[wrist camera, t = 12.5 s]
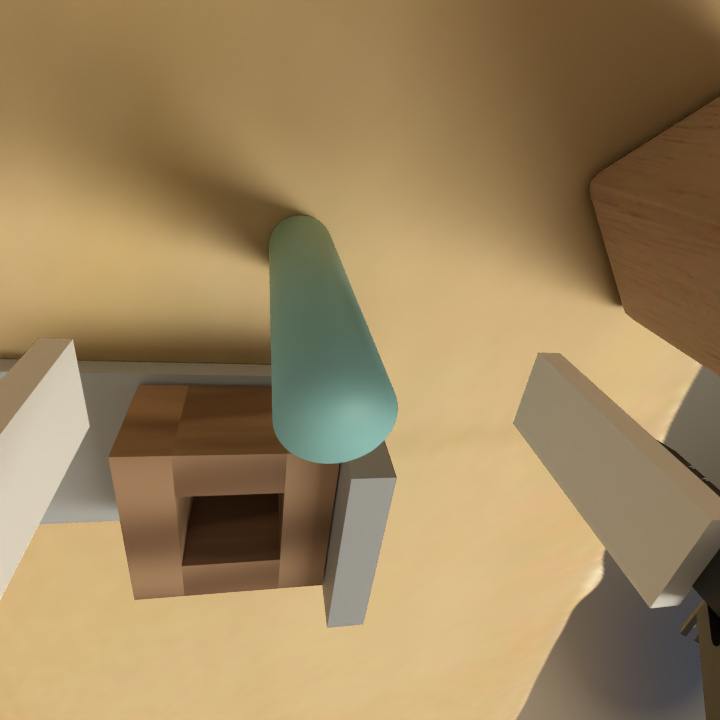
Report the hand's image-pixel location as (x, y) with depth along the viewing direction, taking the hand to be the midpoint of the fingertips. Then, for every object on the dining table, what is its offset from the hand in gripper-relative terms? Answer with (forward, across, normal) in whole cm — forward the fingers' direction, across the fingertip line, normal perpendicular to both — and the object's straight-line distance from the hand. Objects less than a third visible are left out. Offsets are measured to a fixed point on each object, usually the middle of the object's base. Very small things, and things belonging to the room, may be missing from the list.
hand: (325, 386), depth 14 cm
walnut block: (+11, -3, -12) cm, 16 cm away
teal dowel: (+12, 0, 0) cm, 12 cm away
